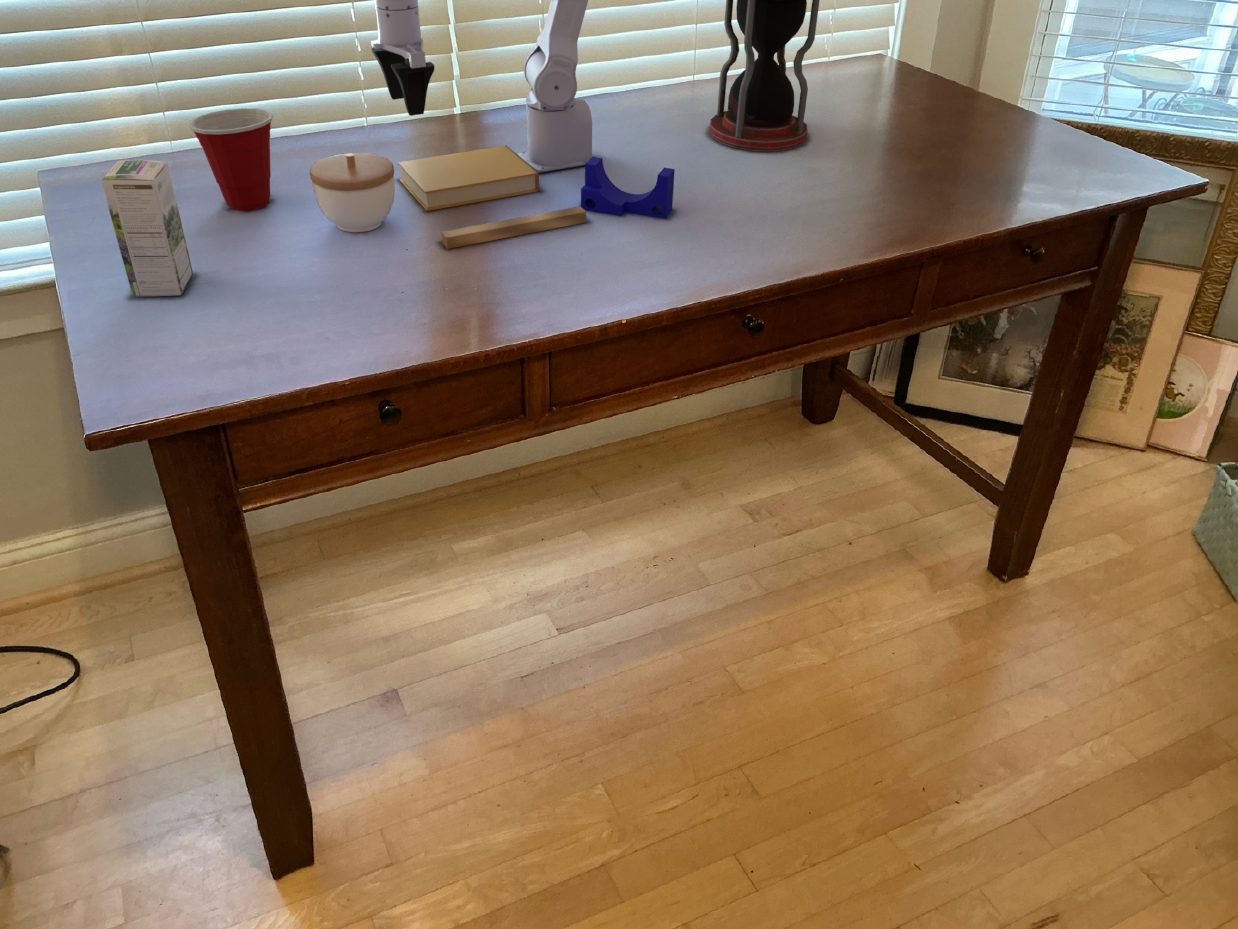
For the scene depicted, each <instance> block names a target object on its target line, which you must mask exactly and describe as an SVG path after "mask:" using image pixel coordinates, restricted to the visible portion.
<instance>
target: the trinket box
mask: <svg viewBox="0 0 1238 929" xmlns="http://www.w3.org/2000/svg"><path fill="white" fill-rule="evenodd" d="M309 178H310V180H311V185H312V189H313V194H314V198H315V200H316V203H317V205H318V208H319V209H320V211H321V213H322V214H323V215H324V216H325V218H326V219H328V220H329V221H330V222H331V223H333V224H334V225H335V226H336V228H337V229H338V230H341V231H343V232H348V233H365V232H369V231H373V230H375V229H378V228H379V227H380V226H382V224H383V221H384V220H385V219H386V218H387V216H388V215H390V212H391V210H392V207H393V206H394V205H393V204H394V201H395V189H396V188H395V168H394V163H393V162H392V161H391V159H388V158H387V157H386V156H385V157H384V156H382V155H379V154H376V153H367V152H345V153H339V154H334V155H330V156H326V157H323V158H321V159H318V160H317V161H315V162H314V163H313V164H312V165H311V166H310V168H309Z"/></svg>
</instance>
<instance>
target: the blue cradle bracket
mask: <svg viewBox="0 0 1238 929" xmlns="http://www.w3.org/2000/svg"><path fill="white" fill-rule="evenodd" d="M655 182H656V183H655V185H654V187H653V188H652V189H650V190H649V191H647V192H643V193H630V192H627V191H624V190H622V189H621V188H619V187H618V186H616V185H615V183H614V182H612V181H611V179H610V178H609V176H608V175H607V172H606V170H605V167H604V160H603V157H598V156H592V158H591V159H589V160H588V161H587V162H586V163H585V165H584V185H583V186H582V187H581V188H580V207H581V208H583V209H584V210H585V211H589V212H595V213H602V214H607V215H613V216H619V217H622V216H623V215H624V214H625V213H630V214H635V215H640V216H641V215H642V216H647V217H654V218H659V219H667V218H668V217H669V215H670V214H671V213H672V211H673V206H674V205H673V204H674V203H673V202H674V188H675V187H674V186H675V185H674V184H675V168H670V167H663V168H662V169H661V170H660V172H659V173H658V174H657V176H656V181H655Z"/></svg>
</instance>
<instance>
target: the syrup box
mask: <svg viewBox="0 0 1238 929" xmlns="http://www.w3.org/2000/svg"><path fill="white" fill-rule="evenodd" d="M100 181H101V185H102V189H103V193H104V195H105V200H106V204H107V207H108V211H109V215H110V219H111V223H112V226H113V230H114V232H115V237H116V241H117V244H118V248H119V252H120V255H121V259H122V263H123V266H124V270H125V273H126V277H127V282H128V284H129V288H130V292H131V296H133V297H171V296H172V297H173V296H182V295H183V294H184V292H185V290H186V287H187V286H188V284H189V282H190V280H191V278H192V277H193V276H194V275H193V274H194V271H193V267H192V263H191V257H190V253H189V250H188V249H189V248H188V245H187V242H186V237H185V231H184V227H183V224H182V219H181V215H180V210H179V205H178V202H177V198H176V194H175V188H174V185H173V180H172V176H171V171H170V167H169V163H168V162H166V161H161V160H151V159H125V160H118V161H116V162H115V164H114V165H112V167H111V168H110V170H109V171H108V172H107V173H106V174H105V176H104V177H103V178H102V179H101V180H100Z"/></svg>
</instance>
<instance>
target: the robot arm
mask: <svg viewBox="0 0 1238 929" xmlns="http://www.w3.org/2000/svg"><path fill="white" fill-rule="evenodd" d="M588 4H589V0H550V2H549V6H548V11H547V15H546V19H545V23H544V27H543V29H542V31H541V32H540V34H539V35H538V36H537V39H536V43H535V46H534V48H533V50H532V51H531V52H530V54H529V55H528V56H527V58H526V60H525V61H524V65H523V74H524V78H525V80H526V82H527V83H528V85H529V87H530V90H529V93H528V94H527V97H526V98H525V103H526V104H525V105H526V106H525V107H526V108H525V109H526V110H525V111H526V139H527V140H526V142H527V143H526V144H527V150H526V151H519V152H518V153H517V155H518V156H520V157H521V158H522V159H523V160H524V161H525V162H527V163H528V164H529V165H530V166H531V167H533V168H534V169H535V170H536V171H537V172H538V173H546V172H552V171H557V170H559V171H560V170H564V169H570V168H576V167H582V166H585V163H586V162H587V161H588V160H589V159H591V158H592V157H593V116H592V113H591V112H592V111H591V108H590V106H589V104H588V103H587V101H586V100H585V99H583V98H575V97H576V96H577V91H578V81H577V76H576V72H577V67H578V62H579V54H578V53H579V52H578V41H579V37H580V34H581V29H582V25H583V22H584V18H585V14H586V11H587V7H588ZM374 6H375V13H376V20H377V21H376V22H377V34H378V37H377V39H373V40H371V41H370V45H371V47H372V48H371V53H372V55H374V57H375V59H376V62H378V65H379V67H380V69H381V71H382V74H383V77H384V80H385V84H386V87H387V90H388V93H389V96H390V98H391V100H393V101H395V100H402V99H403V101H404V105H405V109H406V112H407V114H408V116H410V117H411V116H419V115H424V113H425V108H426V101H427V93H428V88H429V84H430V81H431V78H432V76H433V74H434V72H435V64H434V63H433V62H431V61H427V62H426V53H425V51H424V39H423V37H422V32H421V31H422V30H421V21H420V11H419V0H374Z"/></svg>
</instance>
